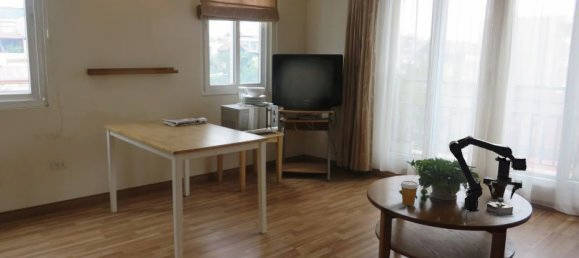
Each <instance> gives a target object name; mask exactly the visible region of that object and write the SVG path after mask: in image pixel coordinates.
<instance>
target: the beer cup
mask: <svg viewBox="0 0 579 258" xmlns="http://www.w3.org/2000/svg"><path fill="white" fill-rule="evenodd" d="M418 184H419V183H418V182H416V181H412V180H403V181H401V183H400V187H401V198H402V199H401V200H402V204H403V205H404V206H409V207H410V206H415V202H416V201H415V200H416V198H417V197H416V196H417V191H418V188H419V185H418Z"/></svg>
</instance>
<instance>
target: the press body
mask: <svg viewBox="0 0 579 258" xmlns="http://www.w3.org/2000/svg"><path fill="white" fill-rule="evenodd" d="M485 210H486V211H487V212H489V213H491V214H494V215H496V216H497V217H500V216H508V215H510V216H511V215H513V210H514V206H511V205H510V204H507V203H504V202H501V206H499V202H498V201H492V200H490V201H488V202H486V209H485Z"/></svg>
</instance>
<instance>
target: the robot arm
mask: <svg viewBox="0 0 579 258" xmlns="http://www.w3.org/2000/svg"><path fill="white" fill-rule="evenodd" d="M470 145H472V146H476V147H478V148H481V149H483V150H484V149H485V150H488V151H491V152H493V153H495V154H496V155H497V157H495V158H494V161H495V162H498V164H497V174H496V179H494V178H493V176H492V177H491V176H483V181H482V184H484V185H485V186H487V188H488V190H489V194H490V196H491V197H492V183H497V186H504V187H506V188H507V187H508V186H512V188H511V192H510V197H509V198H510V200H512V198H513V196H514V194H515V193H516V191H519V190H520V189H522V188H523V181H522V180H517V179H514V180H512V179H513V177H510V171H511V169H513V171H517V172H518V171H520V172H526V171H527V158H526V157H516V156H515V155H513V149H512V148H511V147H510V146H509V145H508V144H507V145H506V144H501V143H500V144H499V143H492V142H490V141H487V140H483V139H480V138H477V137H474V136H472V135H468V136H465V137H463V138H460V139H457V140H451V141H450V142H449V144H448V148H449V152H450V153H451V154H452V155H453V157H454V158H455V159H456V161H457V163H458V164H459V167H460V168H461V171H462V173H463V174H464V176H465V178H466V181H467V184H468V187H469V189H467V190H466V191H465V195H466V197H465V198H464V204H463V206H462V207H461V208H462V209H464V210H466V211H468V212H476V211H480V209H479V198H480V197H482V196H483V190H484V189H483V186H482V185H481V182H480V180H479V179H477V180H476V179H475V177H474V176H473V174H472V172H471V169H470V168H469V165H468V164H467V162H466V159H465V158H464V154H463V149H465V148H467V147H468V146H470Z"/></svg>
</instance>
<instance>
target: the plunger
mask: <svg viewBox="0 0 579 258" xmlns="http://www.w3.org/2000/svg"><path fill="white" fill-rule="evenodd" d="M496 202H499V206H501V202H502V203H504V197H503V198H497V201H496Z"/></svg>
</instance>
